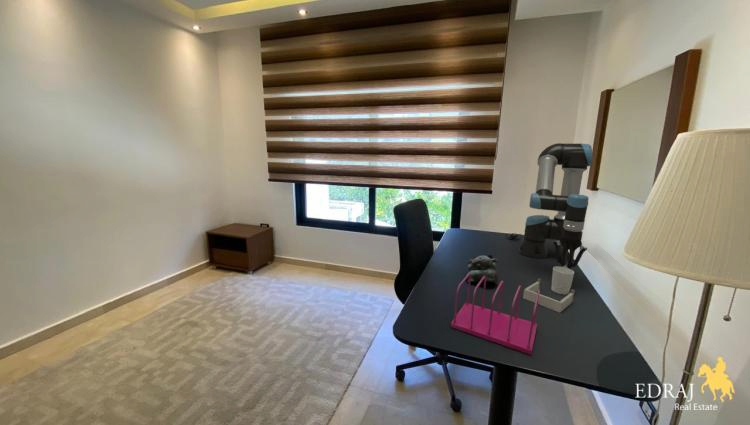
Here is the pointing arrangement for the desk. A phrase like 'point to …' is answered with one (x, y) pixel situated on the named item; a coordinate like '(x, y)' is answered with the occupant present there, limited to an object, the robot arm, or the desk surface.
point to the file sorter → (496, 321)
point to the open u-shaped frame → (547, 298)
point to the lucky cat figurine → (482, 269)
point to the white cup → (562, 280)
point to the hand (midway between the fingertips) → (564, 279)
